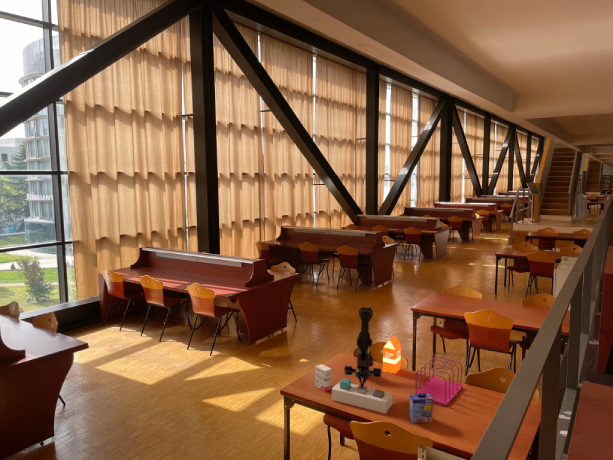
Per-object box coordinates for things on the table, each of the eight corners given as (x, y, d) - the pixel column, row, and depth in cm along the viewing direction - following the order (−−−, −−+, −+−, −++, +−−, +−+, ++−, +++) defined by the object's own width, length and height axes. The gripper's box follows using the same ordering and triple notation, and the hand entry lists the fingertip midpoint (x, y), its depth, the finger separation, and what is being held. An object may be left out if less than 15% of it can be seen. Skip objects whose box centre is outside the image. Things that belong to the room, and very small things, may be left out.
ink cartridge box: (412, 423, 225) (413, 394, 223) (408, 417, 231) (409, 389, 228) (432, 422, 226) (433, 393, 224) (428, 416, 231) (429, 388, 229)
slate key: (359, 392, 248) (359, 385, 247) (367, 394, 246) (367, 387, 245) (356, 396, 244) (356, 389, 243) (364, 398, 242) (364, 391, 241)
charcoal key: (375, 396, 243) (376, 389, 243) (384, 398, 241) (384, 391, 241) (372, 400, 240) (373, 393, 239) (381, 402, 238) (381, 395, 237)
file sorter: (413, 397, 250) (414, 368, 248) (432, 379, 270) (433, 353, 268) (446, 407, 240) (447, 377, 238) (463, 388, 260) (464, 360, 258)
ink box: (332, 389, 259) (332, 368, 257) (325, 392, 256) (325, 371, 254) (321, 383, 265) (321, 363, 264) (314, 386, 262) (314, 365, 261)
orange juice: (400, 368, 284) (401, 336, 281) (395, 374, 277) (395, 341, 274) (388, 365, 288) (388, 333, 285) (382, 371, 281) (383, 338, 278)
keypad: (339, 391, 256) (339, 381, 255) (392, 404, 243) (392, 393, 242) (331, 399, 247) (331, 388, 247) (385, 413, 234) (386, 402, 233)
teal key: (343, 385, 251) (343, 378, 251) (351, 387, 249) (351, 379, 249) (339, 388, 248) (339, 381, 247) (347, 390, 246) (347, 383, 245)
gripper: (344, 351, 248) (342, 380, 239) (381, 353, 245) (380, 383, 236) (346, 359, 257) (343, 388, 248) (381, 361, 254) (380, 391, 245)
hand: (361, 387), depth 244 cm, fingers closed, pressing on slate key
